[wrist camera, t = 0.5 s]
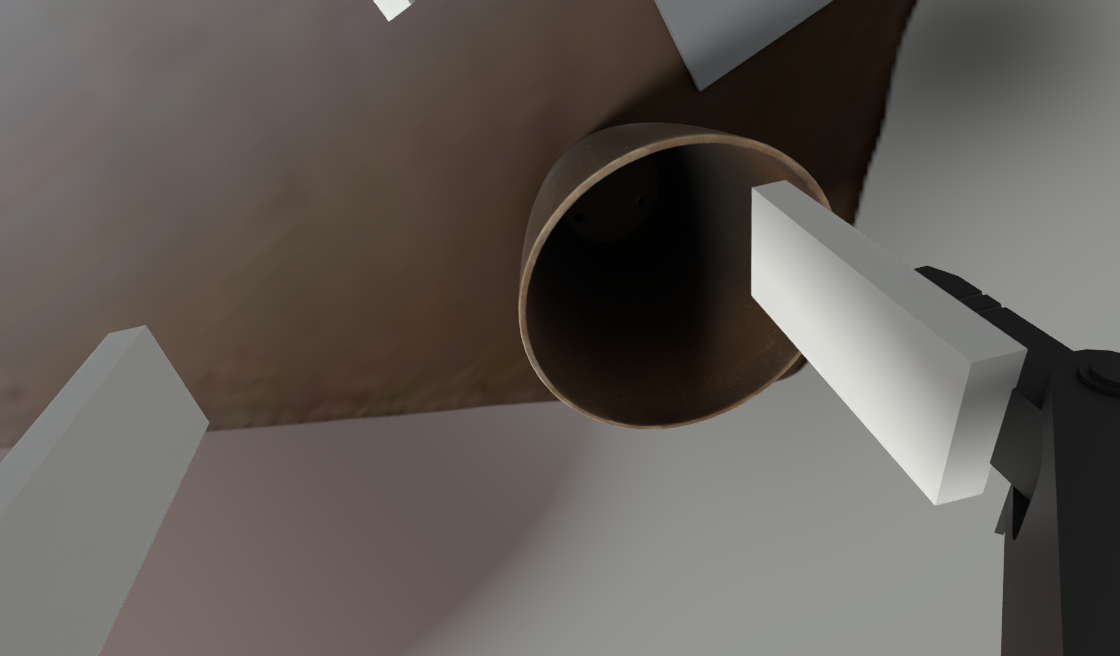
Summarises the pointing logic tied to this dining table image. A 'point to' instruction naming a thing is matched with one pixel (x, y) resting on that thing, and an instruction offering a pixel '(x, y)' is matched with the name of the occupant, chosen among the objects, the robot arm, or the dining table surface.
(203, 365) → the dining table surface
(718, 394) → the plant pot
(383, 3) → the lid
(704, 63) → the gray mat
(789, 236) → the robot arm
